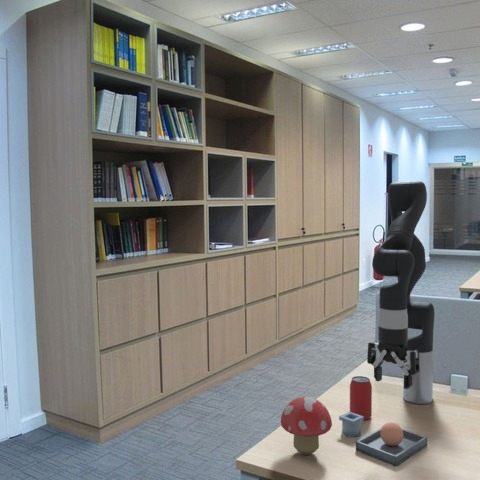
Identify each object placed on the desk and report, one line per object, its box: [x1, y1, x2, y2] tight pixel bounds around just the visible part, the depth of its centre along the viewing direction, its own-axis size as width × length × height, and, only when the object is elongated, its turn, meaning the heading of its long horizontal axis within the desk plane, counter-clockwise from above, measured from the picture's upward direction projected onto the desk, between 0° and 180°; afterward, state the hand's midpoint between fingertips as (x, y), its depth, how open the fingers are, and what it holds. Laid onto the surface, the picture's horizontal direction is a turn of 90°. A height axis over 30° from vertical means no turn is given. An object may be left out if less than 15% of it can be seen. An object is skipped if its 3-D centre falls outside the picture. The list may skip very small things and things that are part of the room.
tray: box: [355, 427, 428, 467], centre depth 140 cm, size 16×12×2 cm
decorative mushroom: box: [280, 396, 333, 456], centre depth 137 cm, size 13×13×15 cm
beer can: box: [349, 375, 373, 421], centre depth 161 cm, size 7×7×12 cm
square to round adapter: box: [338, 411, 365, 438], centre depth 150 cm, size 5×5×5 cm
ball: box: [380, 421, 403, 446], centre depth 140 cm, size 6×6×6 cm
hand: (392, 384), depth 139 cm, fingers open, 8 cm apart
